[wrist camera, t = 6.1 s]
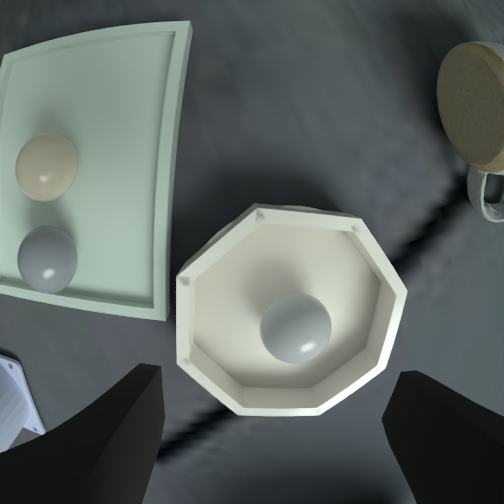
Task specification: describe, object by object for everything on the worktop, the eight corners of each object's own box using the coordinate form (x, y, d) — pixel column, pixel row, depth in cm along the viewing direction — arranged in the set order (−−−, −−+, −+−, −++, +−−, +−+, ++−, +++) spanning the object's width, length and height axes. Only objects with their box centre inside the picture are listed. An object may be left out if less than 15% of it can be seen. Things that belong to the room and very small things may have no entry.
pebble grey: (254, 340, 16) (260, 378, 13) (259, 281, 15) (267, 308, 12) (315, 341, 16) (333, 376, 13) (325, 283, 16) (348, 310, 12)
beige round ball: (39, 198, 14) (1, 204, 10) (42, 137, 13) (5, 132, 10) (88, 198, 14) (53, 205, 11) (92, 133, 13) (58, 124, 10)
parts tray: (3, 285, 15) (-8, 291, 14) (14, 59, 12) (4, 55, 11) (170, 311, 16) (165, 321, 15) (193, 30, 13) (190, 20, 12)
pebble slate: (43, 277, 15) (9, 297, 12) (39, 219, 14) (2, 230, 11) (90, 284, 15) (60, 308, 12) (88, 222, 14) (53, 234, 11)
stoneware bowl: (183, 384, 17) (177, 410, 15) (187, 196, 15) (177, 199, 12) (357, 388, 18) (370, 412, 16) (398, 217, 15) (421, 225, 13)
